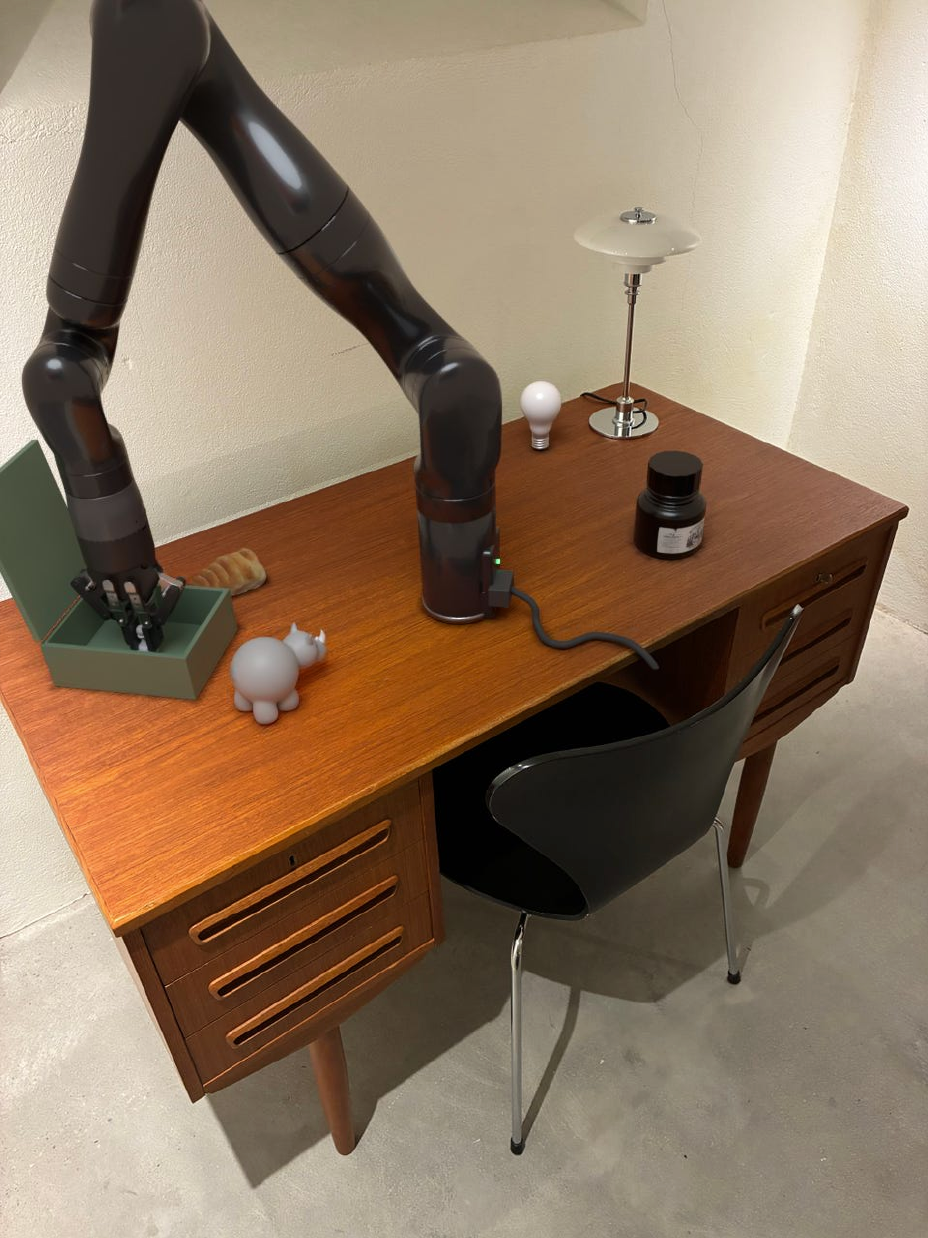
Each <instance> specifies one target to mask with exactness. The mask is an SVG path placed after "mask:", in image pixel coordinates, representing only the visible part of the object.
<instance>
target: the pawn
mask: <svg viewBox="0 0 928 1238" xmlns="http://www.w3.org/2000/svg"><path fill="white" fill-rule="evenodd" d="M142 627H143V626H142V625H139V626H137V628H136V632H137V634H138V637H139V638H141V643H140V645H139V647H138V649H139V650H136V651H144V652H149V651H148V649H147V645H146V642H145V639H144V635H143V632H142ZM158 652H159V648H158V649H157V651H156V652H155V653H158Z"/></svg>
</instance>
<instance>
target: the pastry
mask: <svg viewBox="0 0 928 1238" xmlns="http://www.w3.org/2000/svg"><path fill="white" fill-rule="evenodd" d="M266 579H267V574H266V570H265V569H264V567H263V565H262V564H261V562H260V561H259V558H258V556H257V555H256V554H255V552H254V551H253V550H251V548H245V547H242V548H240V549H239V550H238V551H235V552H232V553H228V554H225V555H220V556H218V557H216V558H215V559H214V561H213V562H211V563H210V564H209V565H208V566H207V567H204V568H202V569H201V570H200V571H199V572H198V573H196V574H195V575H194V577H192V578H191V580H190V584H189V586H201V587H214V588H227V589H230V593H231V597H234V596H238V595H242V594H244V593H247V592H248V591H250V590H256V589H258V588H260V587H261V586H262V585H263V584H264V583H265V581H266Z"/></svg>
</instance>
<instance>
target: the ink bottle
mask: <svg viewBox="0 0 928 1238" xmlns="http://www.w3.org/2000/svg"><path fill="white" fill-rule="evenodd" d="M703 467H704V464H703V462H702V460H701V458H700V457H698V456H697V455H695V454H693V453H690V452H688V451H683V450H682V451H681V450H664V451H659V452H656V453H654V454H652V455H651V456H650V457H649V459H648V461H647V469H646V470H647V472H646V481H645V482H646V484H645V486H646V488H644V489H643V490H642V491H641V492H640V493H639V494H638V496H637V498H636V503H635V515H634V528H633V542H634V545H635V546H636V547H637V548H638V549H639V550H640V551H641V552H643V553H645V554H647V555H650V556H652V557H654V558H658V559H665V560H679V559H683V558H686V557H689V556H691V555H693V554H694V553H696V552H697V551H699V549H700V547H701V545H702V541H703V533H704V526H705V519H706V518H705V517H706V511H707V501H706V499H705V497H704V496H703V494H702V493H701V492H700V490H701V484H702V475H703Z"/></svg>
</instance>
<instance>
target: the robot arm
mask: <svg viewBox="0 0 928 1238" xmlns="http://www.w3.org/2000/svg"><path fill="white" fill-rule="evenodd" d="M88 23H89V35H90V38H91V39H90V40H91V53H90V77H89V78H90V80H89V96H88V106H87V108H88V109H87V116H86V123H85V129H84V134H83V139H82V145H81V149H80V154H79V158H78V162H77V165H76V169H75V172H74V176H73V179H72V182H71V185H70V188H69V190H68V191H69V192H68V194H67V197H66V200H65V204H64V207H63V211H62V213H61V216H60V217H61V218H60V221H59V225H58V229H57V233H56V237H55V241H54V246H53V249H52V255H51V260H50V265H49V268H48V274H47V279H46V287H45V297H46V301H47V304H48V307H47V312H46V317H45V322H44V325H43V329H42V333H41V336H40V339H39V341H38V344H37V345H36V347H35V349H34V350H33V351H32V353H31V354H30V356H29V357H28V359H26V361H25V363H24V366H23V368H22V371H21V389H22V395H23V398H24V403H25V405H26V408H27V410H28V412H29V413H28V414H29V416H30V417H31V419H32V421H33V422H34V424H35V426H36V428H37V430H38V431H39V433H40V436H41V437H42V438H43V440H44V442H45V443H46V445H47V446H48V448H49V449H50V451H51V452H52V454H53V456H54V462H55V464H56V467H57V472H58V474H59V477H60V481H61V483H62V487H63V491H64V495H65V502H66V505H67V507H68V511H69V515H70V518H71V521H72V524H73V527H74V531H75V534H76V537H77V540H78V543H79V546H80V550H81V553H82V556H83V559H84V562H85V564H86V565H87V569H82V570H81V571H80V572H79V573H78V574H77V576H76V577H75V578H74V579H73V580H72V581H71V583H70V584H71V586H72V588H73V589H74V590H75V591H76V592H77V593H78V594H79V595H80V596H81V597H82V598H83V599H84V600H85V601H86V602H87V603H88V604H89V605H90V606H91V607H92V609H93V610H94V611H95V612H96V613H97V614H98V615H99V616H100V617H101V618H102V619H104V620H109V619H112V620H115V621H116V622H117V624H118V625H120V627H121V630H122V633H123V636H124V640H125V642H126V644H127V645H130V649H131V650H139V649H138V647H139V645H140V643H141V638H139V637H138V634H137V632H136V628H137V626H139V625H140V622H139V618H140V621H141V624H142V626H143V627H142V632H143V635H144V639H145V642H146V645H147V649H148V651H149V652H156V651H157V649H158V648H159V647H160V645H161V644H162V642H163V641H164V635H163V631H162V627H161V625H164V624H165V623H166V621H167V619H168V618H169V616H170V615H171V614H172V612H173V611H174V609H175V607H176V604H177V602H178V600H179V598H180V596H181V594H182V591H183V589H184V587H185V585H187V580H186V578H185V577H184V576H181V575H179V576H177V577H176V578H174V577H172V576H170V575H168V574H166V573H164V568H163V566H162V565H161V563H159V561H158V559H157V557H156V545H155V542H154V538H153V534H152V530H151V527H150V523H149V519H148V515H147V514H148V513H147V509H146V507H145V503H144V499H143V496H142V492H141V490H140V487H139V485H138V483H137V481H136V478H135V475H134V472H133V468H132V464H131V460H130V456H129V453H128V449H127V446H126V443H125V440H124V438H123V435H122V434H121V432H120V431H119V429H118V428H117V427H116V426H114V425H113V424H111V423H110V422H109V421H108V419H107V416H106V414H105V410H104V406H103V402H102V401H103V400H102V394H103V392H104V389H105V388H106V386H107V384H108V381H109V379H110V376H111V372H112V369H113V366H114V361H115V357H116V354H117V353H116V352H117V347H118V341H119V335H120V334H119V333H120V328H121V320H122V318H123V315H124V312H125V310H126V307H127V305H128V300H129V297H130V292H131V289H132V285H133V281H134V278H135V274H136V272H137V267H138V263H139V259H140V255H141V251H142V247H143V246H142V245H143V241H144V238H145V237H144V236H145V233H146V232H145V231H146V227H147V222H148V218H149V214H150V209H151V205H152V200H153V196H154V192H155V188H156V184H157V181H158V177H159V173H160V171H161V167H162V165H163V161H164V159H165V157H166V153H167V151H168V147H169V145H170V143H171V140H172V137H173V135H174V132H175V131H176V128H177V126H178V124H179V122H180V123H181V124H182V125H183V126H184V127H185V128H186V129H187V130H188V131H189V133H190V134H191V135H192V136H193V137H194V138H195V140H196V141H197V142H198V143H199V145H200V146H201V147H202V148H203V149H204V151H205V152H206V153H207V155H208V157H209V158H210V160H211V161H212V162H213V164H214V165H215V167H216V169H217V171H218V172H219V173H220V175H221V177H222V178H223V180H224V181H225V183H226V185H227V186H228V188H229V189H230V191H231V193H232V194H233V196H234V198H235V199H236V200H237V202H238V204H239V205H240V207H241V208H242V210H243V211H244V213H245V215H246V217H248V218H249V220H250V222H251V223H252V224H253V226H254V227H255V229H256V231H258V233H259V234H260V236H261V237H262V239H263V240H264V241H265V242H266V244H267V245H268V246H269V247H270V249H272V251H273V252H274V253H275V254H276V256H277V257H278V258H279V259H280V260H281V261H282V262H283V263H284V265H286V266H287V268H288V269H289V270H290V271H291V272H292V273H293V274H294V275H295V276H296V278H297V279H298V280H299V281H300V282H301V283H302V284H303V286H305V287H306V288H307V289H308V290H309V291H310V292H311V293H312V294H313V295H314V296H315V297H316V298H318V299H319V301H321V302H322V303H323V304H324V305H326V306H327V307H328V308H329V309H331V310H332V311H333V312H334V313H336V314H337V315H338V316H340V317H341V318H342V319H343V320H345V321H346V322H347V323H349V325H351V326H352V327H353V328H355V329H356V330H357V332H359V333H360V334H361V336H363V337H364V339H365V340H366V341H367V342H368V343H369V344H370V346H371V347H372V348H373V350H374V351H375V352H376V353H377V355H378V356H379V358H380V359H381V360H382V362H383V363H384V365H385V366H386V367H387V369H388V370H389V372H390V373H391V375H392V376H393V378H394V379H395V381H396V382H397V384H398V385H399V387H400V389H401V391H402V392H403V395H404V396H405V398H406V399H407V401H408V402H409V403H410V405H411V406H412V408H413V409H414V410H415V412H416V413H417V416H418V424H419V425H418V426H419V447H420V449H419V451H420V452H419V453H418V454H417V455H416V457H415V459H414V462H413V476H414V490H415V503H416V518H417V531H418V532H417V533H418V546H419V558H420V559H419V561H420V572H421V574H420V575H421V586H422V587H421V590H422V591H421V593H422V596H421V597H422V606H423V607H422V608H423V609H424V611H425V612H426V613H427V614H428V616H430V617H431V618H433V619H435V620H437V621H439V622H442V623H447V624H454V625H464V624H465V625H466V624H471V623H476V622H479V621H481V620H485V619H486V620H487V619H488V620H494V617H495V614H496V610H497V608H510V605H511V601H512V597H513V596H515V597H516V598H518V599H520V600H521V601H523V602H524V603H526V605H528V606H529V608H530V610H531V621H532V625H533V627H534V629H535V632H536V635H537V636H538V638H539V640H540V641H541V642H542V643H543V644H545V645H546V646H549V647H552V648H555V649H570V648H574V647H577V646H578V645H580V644H583V643H585V642H589V641H592V640H601V641H609V642H613V643H618V644H621V645H623V646H626V647H628V648H629V649H631V650H632V651H634V652H635V653H636V654H637V655H639V657H640V658H642V660H643V661H644V662H645V663H646V664H647V665H648V667H649V668H650V669H652V670H658V669H660V666H659V664H658V662H657V661H656V660H655V659H654V657H653V656H652V655H651V654H650V653H649V652H648V651H647V650H646V649H645V648H643V646H641V644H639V643H637V642H636V641H634V640H632V639H631V638H629V637H627V636H623V635H620V634H615V633H610V632H603V631H590V632H586V633H583V634H580V635H578V636H576V637H573V638H571V639H567V640H557V639H554V638H551V637H549V636H548V635H547V634H546V632H545V630H544V628H543V625H542V622H541V620H540V607H539V605H538V603H537V602H536V600H535V599H534V598H532V597H531V595H529V594H528V593H526V592H524V591H523V590H521V589H519V588H517V587H516V586H515V571H514V570H511V569H510V570H509V569H501V539H500V538H501V534H500V532H501V530H500V528H499V526H497V498H496V497H497V494H496V493H497V491H496V490H497V489H496V488H497V487H496V470H497V468H498V465H499V463H500V459H501V455H502V434H503V433H502V432H503V397H502V396H503V395H502V394H503V393H502V386H501V382H500V378H499V375H498V373H497V371H496V370H495V368H494V367H493V365H491V363H490V362H489V361H488V360H487V359H486V358H485V357H484V356H483V355H482V354H481V353H480V352H479V350H478V349H477V348H476V347H475V346H474V345H473V344H472V343H470V342H469V340H467V339H466V338H465V337H463V335H461V334H460V333H459V332H458V331H456V329H454V328H453V327H452V326H451V325H450V324H449V322H448V321H446V320H445V319H444V318H443V317H442V315H440V314H439V313H438V312H437V311H436V309H435V308H434V307H432V305H431V304H430V303H429V302H428V301H427V300H426V299H425V298H424V297H423V295H422V294H421V293H420V292H419V291H418V289H417V288H416V287H415V286H414V284H413V282H412V281H411V279H410V278H409V276H408V274H407V272H406V270H405V269H404V267H403V265H402V263H401V261H400V259H399V258H398V255H397V253H396V252H395V250H394V248H393V247H392V245H391V243H390V242H389V240H388V238H387V236H386V234H385V233H384V232H383V230H382V229H381V227H380V225H379V224H378V223H377V221H376V220H375V218H374V217H373V215H372V214H371V212H370V211H369V210H368V209H367V208H366V206H365V205H364V204H363V202H362V201H361V200H360V199H359V197H358V196H357V195H356V194H355V192H354V191H353V190H352V189H351V186H349V184H347V182H346V181H345V179H343V177H342V176H341V175H340V174H339V173H338V171H336V169H335V168H334V167H333V166H332V165H331V164H330V162H329V161H328V160H327V158H326V157H325V156H324V155H323V154H322V153H321V152H320V151H319V150H318V148H317V147H316V146H315V145H314V144H313V143H312V142H311V140H309V139H308V138H307V136H306V135H305V134H304V133H303V132H302V131H301V130H300V129H299V128H298V127H297V126H296V125H295V124H294V123H293V121H292V120H291V119H290V118H288V116H287V115H286V113H284V112H283V111H282V110H281V109H280V108H279V107H278V106H277V105H276V104H275V103H274V102H273V101H272V99H271V98H270V97H269V96H268V95H267V94H266V92H265V91H264V90H263V89H262V87H260V85H259V84H258V83H257V81H256V80H255V79H254V77H253V76H252V75H251V73H250V71H249V70H248V69H247V68H246V66H245V65H244V63H243V61H242V60H241V59H240V57H239V56H238V54H237V53H236V51H235V50H234V48H233V47H232V45H231V44H230V42H229V41H228V39H227V38H226V36H225V34H224V32H223V31H222V30H221V29H220V27H219V25H218V23H217V22H216V21H215V19H214V17H213V15H212V14H211V13H210V11H209V10H208V7H207V6H206V4H205V1H203V0H91V4H90V10H89V19H88ZM157 584H159V585H160V586H161V592H162V594H161V596H162V597H164V600H163V602H162V604H161V606H160V608H159V607H158V604H157V592H156V589H155V588H156V586H157ZM80 596H79V597H80ZM100 599H101V600H102V601H103V602H104V603H105V604H106V607H105V606H104V605H103V604H102V603H101V602H100ZM135 612H136V613H138V615H139V618H138V615H134V613H135Z"/></svg>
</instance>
